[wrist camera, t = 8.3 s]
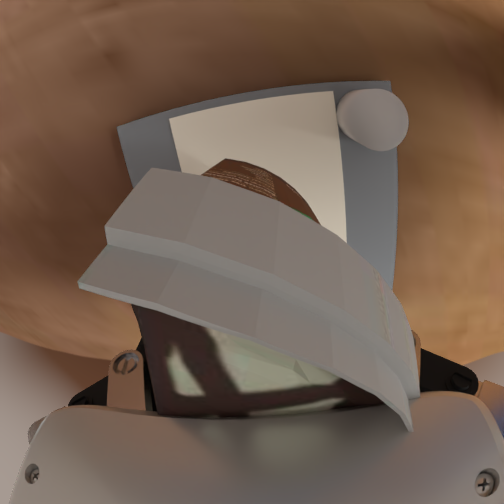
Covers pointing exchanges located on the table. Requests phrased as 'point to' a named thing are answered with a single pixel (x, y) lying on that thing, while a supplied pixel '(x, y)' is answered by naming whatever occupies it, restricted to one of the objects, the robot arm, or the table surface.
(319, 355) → the food container
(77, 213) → the table surface
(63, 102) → the table surface
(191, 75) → the table surface
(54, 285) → the table surface
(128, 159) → the board
